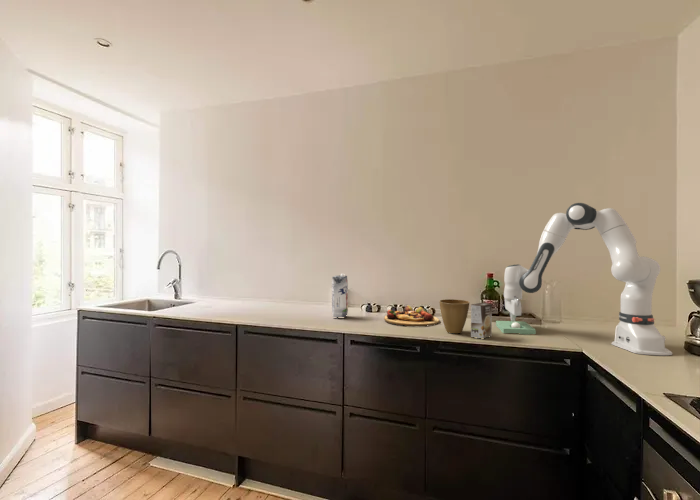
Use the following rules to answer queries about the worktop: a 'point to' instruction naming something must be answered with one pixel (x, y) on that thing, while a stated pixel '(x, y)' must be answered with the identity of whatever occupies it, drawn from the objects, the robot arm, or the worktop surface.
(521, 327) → the putting board
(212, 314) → the worktop surface
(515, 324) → the ball
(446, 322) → the plant pot
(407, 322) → the wooden plate with food
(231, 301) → the worktop surface
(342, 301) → the juice carton
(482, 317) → the coffee box
